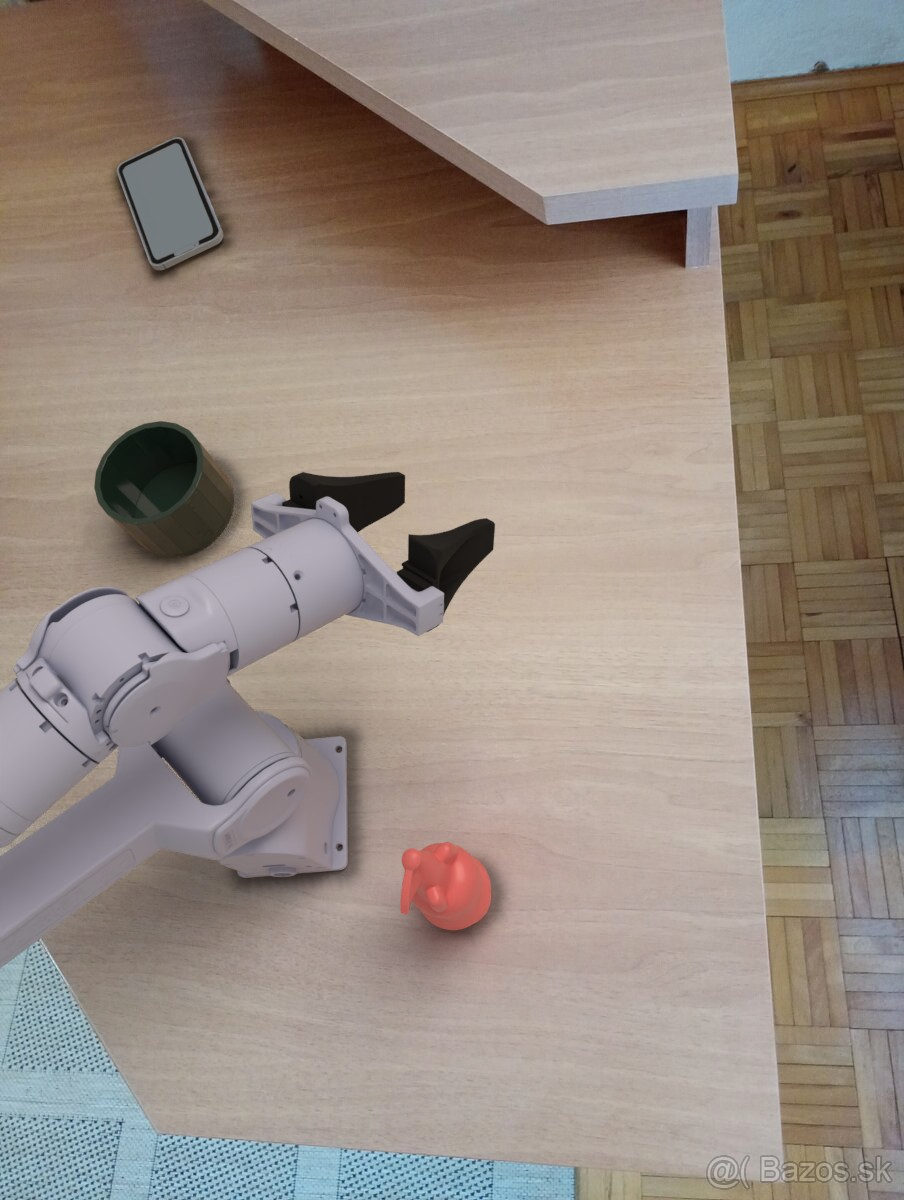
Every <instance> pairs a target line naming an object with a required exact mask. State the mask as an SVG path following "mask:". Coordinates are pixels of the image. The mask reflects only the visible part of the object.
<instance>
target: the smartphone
mask: <svg viewBox="0 0 904 1200" xmlns="http://www.w3.org/2000/svg"><path fill="white" fill-rule="evenodd" d="M197 168H198V167H197V166H196V164H195V162H194V159H193V155H192V154H191V152H190V149H189V147H188V144H187V143H186V141H185V139H183V137H179V136H177V137H172V138H170V139H168V140H165V141H163V142H162V143H160V144H158V145H155V146H153V147H151V148H149V149H147V150H145V151H143V152H140V153H139V154H136V155H134V156H132V157H130V158H128V159H126V160H124V161H123V162H121V163H120V164H119V165H118V166H117V168H116V174H117V177H118V180H119V182H120V185H121V188H122V191H123V193H124V196H125V199H126V201H127V205H128V207H129V210H130V213H131V215H132V219H133V221H134V224H135V227H136V230H137V232H138V235H139V238H140V241H141V244H142V246H143V249H144V252H145V254H146V257H147V260H148V263H149V265H150V266H151V267H152V269H153V270H156V271H165V270H167V269H169V268H171V267H173V266H175V265H177V264H179V263H181V262H183V261H186V260H188V259H190V258H191V257H194V256H196V255H198V254H201V253H203V252H205V251H206V250H209V249H211V248H213V247H215V246H218V245H219V244H220V243H221V242H222V241H223V239H224V231H223V229H222V226H221V224H220V222H219V219H218V217H217V213H216V212H215V209H214V206H213V204H212V202H211V200H210V196H209V195H208V193H207V190H206V187H205V185H204V183H203V181H202V178H201V176H200V173H199V171H198V169H197Z"/></svg>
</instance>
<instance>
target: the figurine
mask: <svg viewBox="0 0 904 1200" xmlns="http://www.w3.org/2000/svg"><path fill="white" fill-rule="evenodd" d="M401 864H402V867H403V869H404V873H403V878H402V886H401V893H400V905H399V908H400V909H399V910H400V913H401V914H403V915H408V914H409V912H410V909H411V904H412V903H413V905H414V906H415V907H416V908H417V909H418V910H419V911H420V912H421V914H422V915H423V916H424V917H425V918H426V919H427V920H428V921H429V923H431V924H432V925H434V926H436V927H437V928H439V929H443V930H448V931H459V930H464V929H466V928H469V927H471V926H473V925H475V924H476V923H479V921H481V920H482V919H483V918H484V917H485V916H486V914H487V913H488V911H489V909H490V907H491V904H492V884H491V879H490V876H489V873H488V871H487V869H486V868H485V866H484V865H483V863H482V862H481V861H480V860H478V859H477V858H476V857H474V856H473V855H472V854H471V853H470V852H469V851H468V850H466V849H465V848H463V847H462V846H460V845H457V844H454V843H453V842H450V841H445V842H438V843H431V844H429V845H427V846H424V848H422V849H417V848H414V847H413V848H408V849H406V850H405V851H404V852H403V853H402V856H401Z"/></svg>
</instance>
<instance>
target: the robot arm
mask: <svg viewBox="0 0 904 1200" xmlns="http://www.w3.org/2000/svg"><path fill="white" fill-rule="evenodd" d="M288 482H289V483H288V486H289V487H288V488H289V499H286V497H284V496H283V495H281V494H280V493H278V492H273V493H270V494H267V495H265V496H263V497H260V498H259V499H256V500H253V501H251V502H250V509H251V510H250V511H251V521H252V531H253V532H255V533H257V534H258V535H260V537H262V538H263V539H262V540H260V541H258V542H255V543H253V544H250V545H248V546H246V547H244V548H242V549H240V550H237V551H235V552H232V553H230V554H228V555H225V556H224V557H222V558H219V559H217V560H214V561H212V562H210V563H208V564H205V565H204V566H201V567H199V568H196V569H194V570H192V571H190V572H187V573H185V574H183V575H180V576H179V577H176V578H174V579H172V580H169V581H167V582H165V583H162V584H160V585H158V586H156V587H154V588H151V589H149V590H146V591H144V592H142V593H140V594H137V595H136V596H135V598H133V597H131V596H129V594H128V593H127V592H126V591H124V590H123V589H121V588H118V587H114V586H98V587H93V588H89V589H86V590H83V591H81V592H79V593H76V594H75V595H73V596H71V597H70V598H68V599H67V600H65V601H63V602H62V603H61V604H60V605H58V606H57V607H56V608H54V609H52V610H51V611H49V612H48V613H46V615H45V616H44V617H43V618H42V620H41V621H40V622H39V623H38V624H37V627H35V630H34V632H33V634H32V636H31V638H30V641H29V643H28V647H27V649H26V650H25V652H24V653H23V654H22V656H21V657H19V658H18V659H17V660H16V661H15V663H16V665H14V666H13V667H12V671H13V672H14V674H15V676H16V677H15V678H14V679H13V680H12V681H10V682H9V683H8V684H7V685H5V686H4V688H2V689H1V690H0V849H3V848H6V847H8V846H10V845H11V844H12V843H13V842H14V841H15V840H16V839H17V838H19V837H20V836H21V835H23V833H24V832H26V831H27V829H29V828H30V827H31V826H32V825H33V824H34V823H35V822H37V820H39V819H40V818H41V817H42V816H44V814H45V813H47V811H49V810H50V809H51V808H52V807H53V806H54V805H56V803H57V802H59V801H60V800H61V799H62V798H63V797H65V795H66V794H68V793H69V792H70V791H71V790H72V789H73V788H75V786H77V784H79V783H80V782H81V781H82V780H83V779H84V778H85V777H87V776H88V775H89V774H90V773H91V772H92V771H93V770H94V769H96V767H98V766H99V765H100V764H101V763H102V762H103V761H105V759H106V758H107V757H109V756H110V755H111V754H112V753H113V752H114V751H115V750H116V749H117V757H116V767H115V772H114V776H113V777H111V778H110V779H109V780H108V781H106V782H105V783H103V784H102V785H101V786H99V787H98V788H96V789H95V790H93V791H92V792H90V793H89V794H87V795H86V796H85V797H83V798H81V799H80V800H79V801H77V802H76V803H74V804H73V805H72V806H70V807H69V808H67V809H66V810H64V811H63V812H61V813H60V814H59V815H57V816H55V818H52V819H51V820H50V821H48V822H47V823H46V824H44V825H43V826H41V827H40V828H39V829H37V830H36V831H34V832H33V833H31V834H30V835H28V836H27V837H25V838H24V839H23V840H21V841H20V842H18V843H16V845H14V846H12V847H11V848H10V849H8V850H7V851H5V852H4V853H3V854H1V855H0V969H2V968H4V967H5V966H6V965H7V964H9V963H10V962H11V961H12V960H14V959H15V958H17V957H18V956H19V955H21V954H22V953H24V952H25V951H26V950H27V949H29V948H30V947H31V946H32V945H34V944H35V943H36V942H38V941H39V940H41V939H43V938H44V937H45V936H47V934H49V933H50V932H51V931H53V930H54V929H56V928H57V927H58V926H60V925H61V924H62V923H64V922H65V921H66V920H68V919H69V918H71V917H72V916H73V915H74V914H76V913H77V912H78V911H80V910H81V909H82V908H84V907H85V906H86V905H88V904H89V903H91V902H92V901H93V900H95V899H96V898H97V897H98V896H100V895H101V894H102V893H104V892H105V891H107V890H108V889H109V888H110V887H112V886H113V885H115V884H116V883H117V882H119V881H120V880H121V879H123V878H124V877H125V876H127V875H128V874H129V873H131V872H132V871H133V870H134V869H136V868H137V867H139V866H140V865H141V864H143V863H144V862H146V861H147V860H148V859H149V858H151V857H153V855H155V854H156V853H158V852H159V851H160V850H161V851H163V850H164V851H171V852H175V853H180V854H184V855H189V856H192V857H198V858H201V859H205V860H211V861H218V863H219V864H220V865H221V866H224V867H227V868H229V869H232V870H234V871H237V875H238V877H240V878H243V879H246V878H247V879H249V878H260V877H261V878H262V877H273V878H274V877H275V878H286V877H293V876H296V875H298V874H309V873H321V872H322V873H323V872H333V871H343V870H345V869H346V868H347V866H348V863H349V853H348V852H349V847H348V845H349V843H348V839H349V837H348V742H347V739H346V738H345V737H344V736H341V735H337V736H336V735H335V736H326V737H316V738H308V739H307V738H306V739H305V738H303V737H302V736H301V735H300V734H299V733H297V732H296V731H295V730H294V729H292V728H291V727H290V726H289V725H287V724H286V723H285V722H283V721H282V720H281V719H280V718H277V717H276V716H274V715H272V714H271V713H267V712H264V711H259V710H256V709H254V708H253V707H252V706H251V705H250V704H249V702H248V701H247V700H245V698H244V697H242V696H241V694H240V693H239V692H238V691H237V690H236V689H235V688H234V687H233V685H232V684H231V681H230V679H229V678H228V677H229V676H231V675H233V674H235V673H237V672H239V671H241V670H243V669H245V668H246V667H248V666H250V665H252V664H254V663H256V662H258V661H260V660H262V659H264V658H265V657H268V656H270V655H271V654H274V653H275V652H277V651H279V650H281V649H283V648H285V647H286V646H288V645H290V644H293V643H294V642H296V641H298V640H300V639H301V638H303V637H306V636H308V635H309V634H311V633H313V632H315V631H317V630H319V629H320V628H323V627H325V626H326V625H328V624H330V623H333V622H334V621H336V620H338V619H340V618H341V617H344V616H347V617H353V618H359V619H363V620H368V621H372V622H376V623H381V624H386V625H391V626H395V627H398V628H402V629H404V630H406V631H408V632H410V633H411V634H414V635H415V636H416V637H420V636H422V635H423V634H426V633H429V632H431V631H433V630H434V629H435V628H437V627H439V626H440V625H441V624H443V623H444V616H445V614H446V612H447V609H448V607H449V606H450V603H451V602H452V600H453V599H454V596H455V595H456V593H457V592H458V590H459V588H460V587H461V586H462V585H463V583H464V582H465V580H467V578H468V576H470V575H471V574H472V572H473V571H474V570H475V569H476V568H477V567H478V566H479V565H480V564H481V563H482V562H483V561H484V560H485V558H487V557H488V556H489V555H490V554H491V553H492V552H493V551H494V547H495V546H494V545H495V533H496V532H495V531H496V523H495V521H493V520H491V519H490V518H488V517H485V518H479V519H474V520H471V521H469V522H467V523H466V522H465V524H462V525H459V526H457V527H455V528H452V529H449V530H446V531H441V532H438V533H436V532H435V533H431V534H430V533H429V534H412V533H411V534H410V533H408V536H407V537H408V538H407V560H405V561H403V562H402V563H401V567H402V568H401V569H399V570H397V571H395V570H394V569H393V568H392V567H391V566H390V565H389V564H388V563H387V562H386V561H385V560H384V559H383V558H382V556H380V555H379V553H377V551H376V550H375V549H374V548H373V547H372V546H371V545H370V544H369V543H368V542H367V541H366V540H365V538H363V537H362V535H360V533H359V532H361V531H362V530H364V529H365V528H367V527H369V526H371V525H372V524H374V523H376V522H378V521H380V520H381V519H383V518H385V517H387V516H389V515H390V514H392V513H394V512H395V511H396V510H398V509H399V508H401V507H402V506H404V504H405V503H406V474H404V473H402V472H400V471H389V472H381V473H373V474H372V473H371V474H365V475H355V476H329V475H322V474H315V473H314V474H313V473H310V472H306V471H302V472H300V473H297V474H294V475H292V476H291V477H290V479H289V481H288ZM339 748H341V751H340V752H338V749H339ZM170 767H171V768H170ZM189 789H190V790H189ZM340 845H342V849H341V850H338V847H339V846H340Z"/></svg>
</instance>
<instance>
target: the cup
mask: <svg viewBox="0 0 904 1200" xmlns="http://www.w3.org/2000/svg"><path fill="white" fill-rule="evenodd" d="M93 487H94V493H95V497H96V500H97V503H98V505H99V506H100V508H101V509H102V510H103V512H104V513H105V514H106V515H107V516H108V517H109V518H110V519H111V520H112V521H114V522H115V524H116V525H118V526H119V527H120V528H121V529H122V530H123V531H124V532H125V533H127V534H128V535H129V536H130V537H132V539H133V540H134V541H136V542H137V544H139V545H140V546H141V547H143V548H144V549H145V550H146V551H148V552H150V553H152V554H153V555H156V556H158V557H162V558H169V559H178V558H184V557H188V556H191V555H194V554H196V553H199V552H201V551H202V550H204V549H206V548H207V547H209V546H210V545H211V544H212V543H214V542H215V541H216V540H217V539H219V537H220V536H221V535H222V533H223V532H224V530H225V529H226V528H227V526H228V524H229V522H230V520H231V517H232V515H233V510H234V505H235V492H234V488H233V485H232V482H231V481H230V479H229V477H228V475H227V474H226V472H224V471H223V469H222V467H221V466H220V465H219V464H218V463H217V461H216V460H214V458H213V457H212V456H211V454H210V452H209V451H208V450H207V449H206V448H205V447H204V446H203V444H202V443H201V442H200V440H199V439H198V438H197V437H196V436H195V435H194V433H193V432H192V431H191V430H189V429H188V428H186V427H185V426H182V425H180V424H178V423H176V422H169V421H162V420H159V421H152V422H147V423H145V422H144V423H142V424H140V425H138V426H135V427H133V428H131V429H129V430H127V431H126V432H124V433H123V434H122V435H120V436H119V437H118V438H117V439H116V440H114V441H113V442H112V443H111V444H110V445H109V447H108V448H107V450H106V451H105V452H104V453H103V455H102V457H101V458H100V461H99V463H98V465H97V468H96V470H95V476H94V486H93Z"/></svg>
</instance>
